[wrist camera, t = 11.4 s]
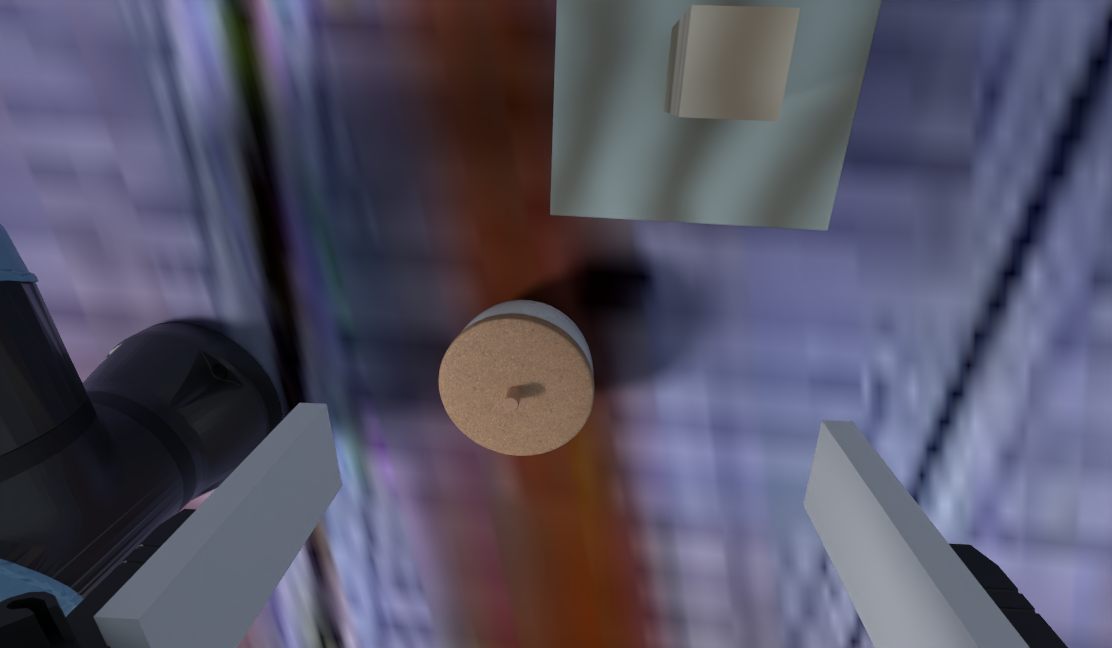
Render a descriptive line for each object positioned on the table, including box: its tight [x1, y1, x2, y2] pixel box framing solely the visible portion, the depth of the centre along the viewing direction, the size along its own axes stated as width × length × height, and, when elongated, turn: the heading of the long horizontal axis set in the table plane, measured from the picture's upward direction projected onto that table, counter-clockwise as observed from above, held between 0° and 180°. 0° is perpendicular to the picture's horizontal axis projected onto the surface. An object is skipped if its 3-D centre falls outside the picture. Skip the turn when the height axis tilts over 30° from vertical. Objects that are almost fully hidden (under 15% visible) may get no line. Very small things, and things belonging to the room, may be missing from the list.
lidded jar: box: [438, 300, 595, 456], centre depth 40 cm, size 11×11×9 cm
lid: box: [550, 0, 882, 231], centre depth 26 cm, size 16×16×9 cm
